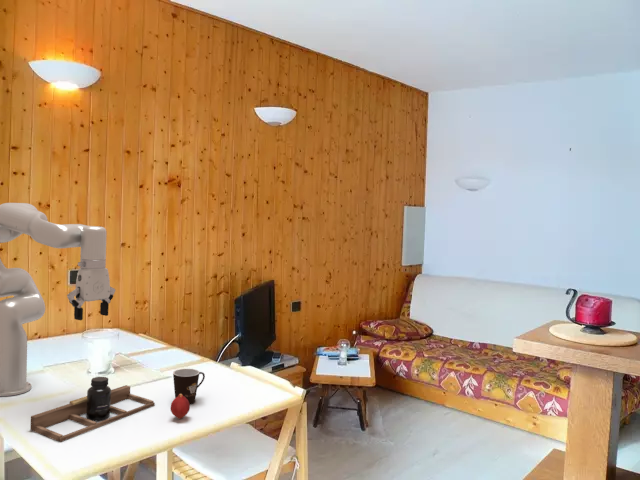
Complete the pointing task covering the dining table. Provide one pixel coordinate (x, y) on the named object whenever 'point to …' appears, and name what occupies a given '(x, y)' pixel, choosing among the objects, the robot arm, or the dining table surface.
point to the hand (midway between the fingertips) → (91, 317)
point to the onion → (180, 406)
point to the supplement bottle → (98, 399)
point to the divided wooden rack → (79, 408)
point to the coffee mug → (187, 383)
